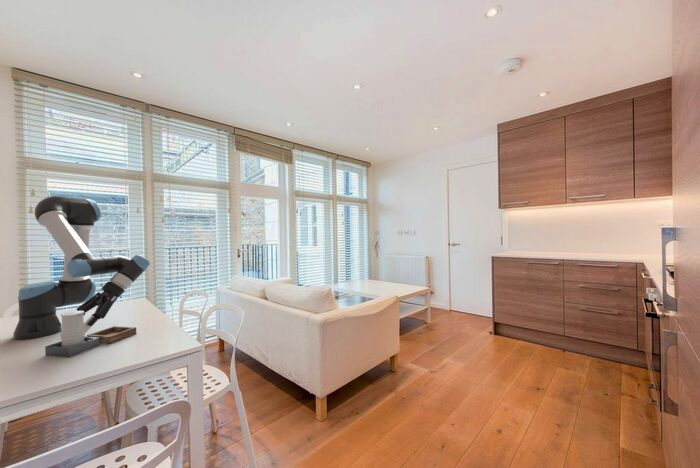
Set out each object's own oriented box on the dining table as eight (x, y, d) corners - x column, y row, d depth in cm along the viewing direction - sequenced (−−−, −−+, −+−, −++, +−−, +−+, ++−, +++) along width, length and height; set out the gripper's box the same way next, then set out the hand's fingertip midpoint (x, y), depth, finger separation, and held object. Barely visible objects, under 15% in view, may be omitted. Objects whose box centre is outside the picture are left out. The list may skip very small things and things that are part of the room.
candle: (75, 346, 117) (74, 310, 117) (89, 347, 116) (89, 310, 116) (55, 353, 110) (55, 315, 110) (71, 354, 109) (70, 315, 109)
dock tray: (86, 342, 122) (86, 335, 122) (114, 332, 134) (114, 326, 134) (110, 343, 120) (110, 336, 120) (136, 333, 132) (136, 327, 132)
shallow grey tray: (45, 355, 109) (45, 346, 109) (77, 344, 120) (77, 336, 120) (68, 357, 107) (68, 348, 107) (99, 345, 118) (99, 337, 118)
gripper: (138, 293, 122) (95, 340, 109) (111, 288, 134) (69, 329, 121) (123, 282, 117) (76, 330, 104) (96, 278, 129) (51, 321, 116)
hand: (72, 330), depth 113 cm, fingers open, 13 cm apart
